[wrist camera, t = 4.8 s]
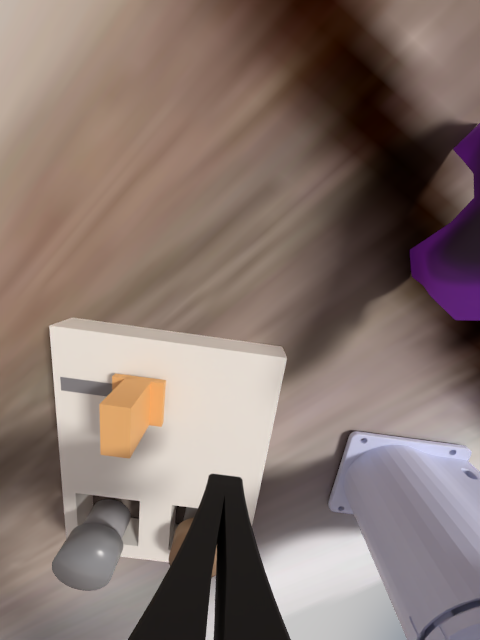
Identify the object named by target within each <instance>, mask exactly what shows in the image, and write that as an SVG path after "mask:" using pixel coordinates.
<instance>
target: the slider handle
mask: <svg viewBox="0 0 480 640" xmlns="http://www.w3.org/2000/svg"><path fill="white" fill-rule="evenodd" d="M165 389H166V380H161V379H153V378H146V377H138V376H131V375H124V374H116V373H115V374H114V375H113V376H112V392H111V393H110V394H109V395H108V396H107V397H106V398H105V399H104V400H103V401H102V402H101V403H100V404H99V410H100V453H101V455H105V456H113V457H121V458H129V459H130V458H131V456H132V454H133V453H134V451H135V449H136V447H137V446H138V444H139V442H140V440H141V439H142V437H143V435H144V433H145V432H146V430H147V428H148V426H149V425H151V426H158V427H162V424H163V421H164V405H165Z"/></svg>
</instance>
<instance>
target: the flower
mask: <svg viewBox="0 0 480 640" xmlns="http://www.w3.org/2000/svg"><path fill="white" fill-rule="evenodd" d="M453 150H454V151H455V152H456V153H457V154H458V155H459V156H460V157H461V158H462V160H463V161H464V162H465V163H466V165H467V166H468V167H469V168H470V169H471V171H472V172H473V173H474V199H473V200H472V201H471V202H470V203H469V204H468V205H467V206H466V207H465V208H464V209H463V210H462V211H461V212H460V213H459V214H458V215H457V217H456V218H455V219H454V220H453V221H452V222H451V223H449V224H448V225H446V226H445V227H443V228H442V229H440V230H439V231H437V232H436V233H435V234H433V235H432V236H430V237H429V238H427V239H426V240H424V241H422V242H421V243H419V244H418V245H416V246H415V247H413V248H412V249H410V262H411V272H412V277H413V278H414V279H416V280H417V281H418V282H419V283H421V284H422V285H423V286H424V287H425V289H426V290H427V292H428V293H429V294H430V296H431V297H432V298H433V299H434V300H435V301H436V302H437V303H438V304H439V305H440V306H441V307H442V308H444V309H445V310H446V311H447V312H448V313H449V314H450V315H451V316H452V317H453V318H454V319H455V320H480V124H478V125H477V126H476V127H475V128H474V129H473V130H472V131H471V132H470V133H469V134H468V135H467V136H466V137H465V138H464V139H463V140H462V141H461V142H460V143H459V144H458V145H457V146H456V147H455V148H454V149H453Z"/></svg>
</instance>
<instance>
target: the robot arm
mask: <svg viewBox="0 0 480 640" xmlns="http://www.w3.org/2000/svg"><path fill="white" fill-rule="evenodd" d="M363 438H364V439H363ZM361 439H363V440H361ZM471 453H472V452H471V450H470V449H469V448H467V447H466V446H464V445H456V444H449V443H441V442H434V441H426V440H419V439H411V438H404V437H396V436H388V435H381V434H373V433H366V432H358V431H354V432H352V433H351V434H350V435H349V438H348V441H347V445H346V448H345V451H344V454H343V457H342V460H341V464H340V467H339V470H338V473H337V476H336V480H335V483H334V486H333V489H332V492H331V496H330V499H329V502H328V506H329V509H330V510H331V511H333V512H339V513H347V514H354V516H355V518H356V520H357V523H358V525H359V527H360V530H361V532H362V534H363V537H364V539H365V542H366V544H367V546H368V549H369V551H370V553H371V556H372V558H373V560H374V563H375V565H376V567H377V570H378V572H379V574H380V577H381V579H382V581H383V584H384V586H385V588H386V591H387V593H388V595H389V598H390V600H391V603H392V605H393V607H394V610H395V612H396V614H397V617H398V619H399V621H400V623H401V626H402V628H403V631H404V633H405V636H406V638H407V640H480V471H479V470H477V469H476V468H475V467H474V466H473V465H472V464H471V463H470V462H469V461H468V460H469V458H470V456H471ZM216 547H217V561H216V593H215V625H214V640H291V639H290V637H289V634H288V632H287V629H286V627H285V624H284V622H283V619H282V617H281V614H280V612H279V609H278V606H277V604H276V601H275V598H274V596H273V593H272V590H271V587H270V584H269V582H268V579H267V576H266V573H265V570H264V567H263V563H262V560H261V557H260V554H259V551H258V547H257V544H256V541H255V537H254V533H253V530H252V526H251V522H250V518H249V514H248V510H247V505H246V500H245V495H244V489H243V481H242V479H241V477H236V476H228V475H220V474H210V475H209V477H208V481H207V485H206V488H205V491H204V494H203V497H202V500H201V502H200V505H199V507H198V510H197V512H196V514H195V517H194V519H193V521H192V524H191V526H190V528H189V530H188V532H187V535H186V537H185V539H184V541H183V543H182V545H181V547H180V549H179V551H178V553H177V555H176V557H175V559H174V561H173V562H172V564H171V566H170V568H169V570H168V572H167V574H166V576H165V577H164V579H163V581H162V583H161V584H160V586H159V588H158V590H157V592H156V593H155V595H154V597H153V599H152V600H151V602H150V604H149V605H148V607H147V609H146V610H145V612H144V614H143V615H142V617H141V619H140V620H139V622H138V624H137V625H136V627H135V629H134V630H133V632H132V633H131V635H130V637H129V638H128V640H205V637H206V626H207V616H208V605H209V595H210V584H211V576H212V570H213V564H214V558H215V553H216Z"/></svg>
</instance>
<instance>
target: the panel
mask: <svg viewBox="0 0 480 640" xmlns="http://www.w3.org/2000/svg"><path fill="white" fill-rule="evenodd" d="M49 328H50V341H51V353H52V366H53V378H54V391H55V403H56V416H57V429H58V441H59V454H60V466H61V479H62V491H63V504H64V516H65V529H66V539H67V538H68V536H69V535H70V533H71V531H72V530H73V529H74V528H75V527H77V526H78V525H81V524H83V522H84V521H85V519H86V517H87V516H88V514H89V512H90V511H91V509H92V508H93V495H96V496H104V497H112V498H120V499H128V500H136V501H140V511H139V519H136V518H131V519H130V521H129V524H128V526H127V528H126V530H125V533H124V535H123V537H122V541H123V551H122V553H121V555H120V557H129V558H137V559H145V560H153V561H162V562H169V554H170V550H171V546H172V542H173V539H174V535H175V531H176V528H177V526H178V525H179V524H176V523H175V519H176V508H177V506H183V507H191V508H198V507H199V505H200V502H201V500H202V497H203V494H204V491H205V488H206V485H207V481H208V477H209V475H210V474H220V475H228V476H236V477H241V479H242V481H243V489H244V495H245V500H246V505H247V510H248V514H249V518H250V522H251V526H252V524H253V519H254V515H255V510H256V505H257V500H258V495H259V491H260V486H261V481H262V476H263V471H264V467H265V462H266V457H267V452H268V447H269V442H270V438H271V433H272V428H273V423H274V418H275V414H276V409H277V404H278V399H279V394H280V390H281V385H282V380H283V375H284V370H285V366H286V361H287V357H286V354H285V352H284V350H283V347H282V346H275V345H268V344H261V343H253V342H246V341H239V340H232V339H224V338H217V337H210V336H203V335H195V334H188V333H181V332H174V331H166V330H159V329H152V328H145V327H137V326H130V325H123V324H116V323H108V322H101V321H94V320H87V319H79V318H70V319H67V320H64V321H61V322H58V323H55V324H52V325H49ZM115 373H116V374H124V375H131V376H138V377H146V378H153V379H161V380H166V389H165V405H164V421H163V424H162V427H158V426H151V425H149V426H148V428H147V430H146V432H145V433H144V435H143V437H142V439H141V440H140V442H139V444H138V446H137V447H136V449H135V451H134V453H133V454H132V456H131V458H130V459H129V458H121V457H113V456H105V455H101V453H100V410H99V404H100V403H101V402H102V401H103V400H104V399H105V398H106V397H107V396H108V395H109V394H110V393H111V392H112V376H113V375H114V374H115Z"/></svg>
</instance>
